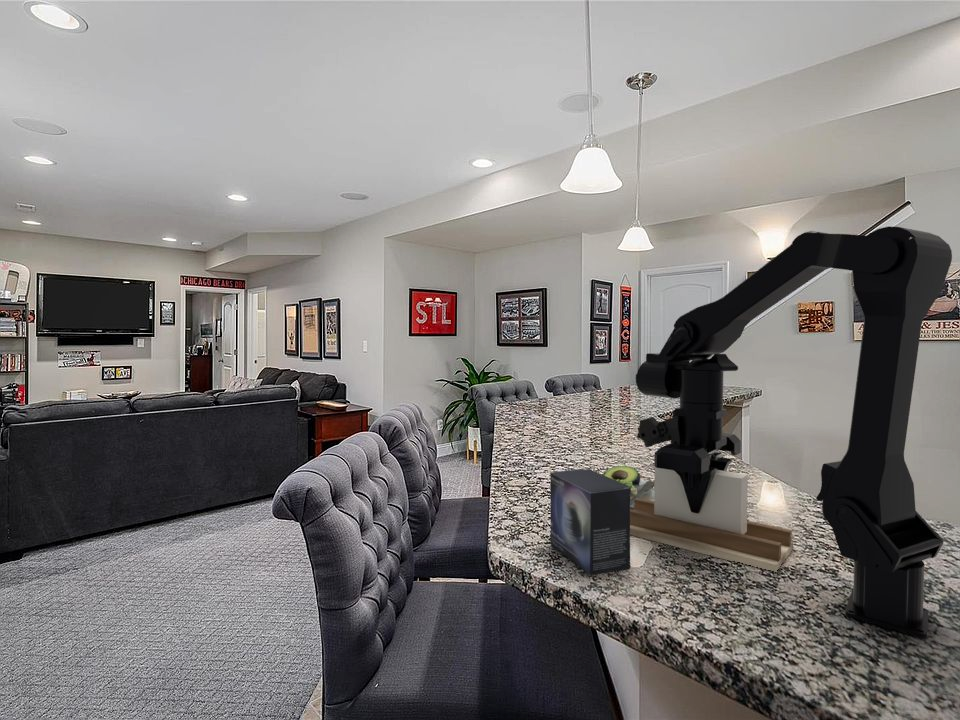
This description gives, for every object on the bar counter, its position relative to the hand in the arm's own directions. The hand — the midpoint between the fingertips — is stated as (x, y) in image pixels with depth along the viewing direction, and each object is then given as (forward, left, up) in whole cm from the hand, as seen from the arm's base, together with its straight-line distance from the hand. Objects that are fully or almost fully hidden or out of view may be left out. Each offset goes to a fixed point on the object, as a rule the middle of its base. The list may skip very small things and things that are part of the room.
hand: (699, 509), depth 75 cm
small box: (-16, +9, -5) cm, 19 cm away
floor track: (0, 0, -4) cm, 4 cm away
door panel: (0, 0, -2) cm, 2 cm away
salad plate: (+12, +20, -5) cm, 24 cm away
